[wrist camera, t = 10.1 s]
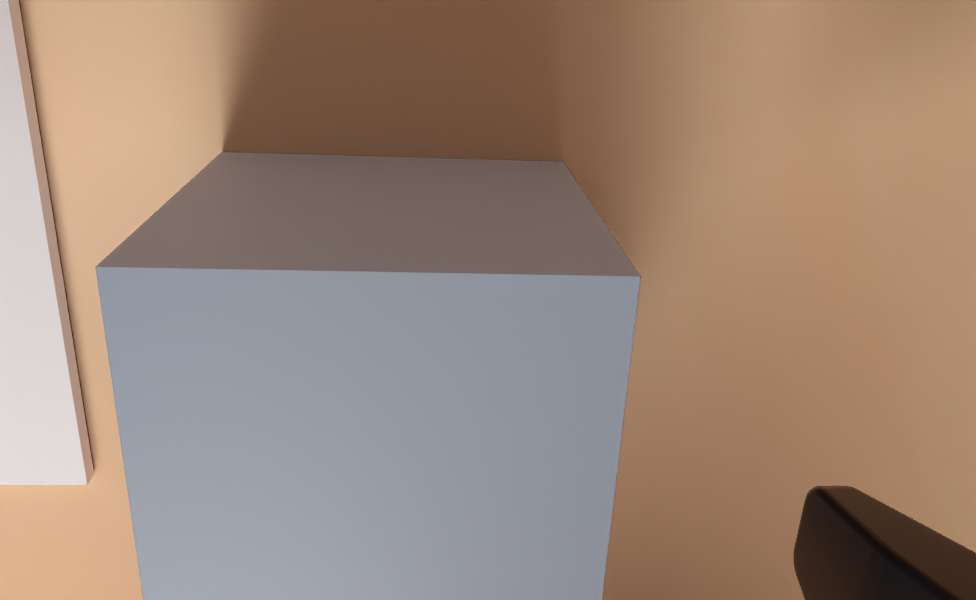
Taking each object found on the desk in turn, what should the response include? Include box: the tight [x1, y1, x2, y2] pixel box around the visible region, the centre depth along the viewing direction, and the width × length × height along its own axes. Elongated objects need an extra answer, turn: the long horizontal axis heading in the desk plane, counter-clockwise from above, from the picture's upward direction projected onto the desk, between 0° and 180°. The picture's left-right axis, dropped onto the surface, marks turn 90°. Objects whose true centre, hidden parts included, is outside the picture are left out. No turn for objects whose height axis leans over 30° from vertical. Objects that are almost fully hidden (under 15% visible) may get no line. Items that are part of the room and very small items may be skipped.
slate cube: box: [96, 152, 641, 600], centre depth 11 cm, size 5×5×5 cm
